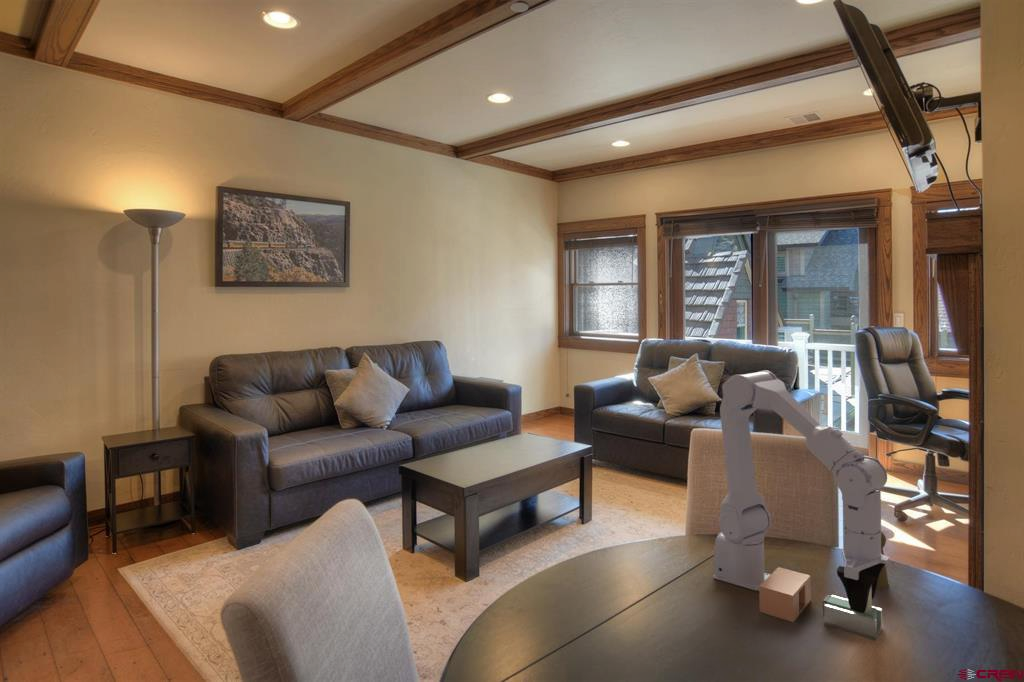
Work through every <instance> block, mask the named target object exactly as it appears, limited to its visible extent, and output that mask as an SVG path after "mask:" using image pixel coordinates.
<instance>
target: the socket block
mask: <svg viewBox="0 0 1024 682" xmlns="http://www.w3.org/2000/svg"><path fill="white" fill-rule="evenodd" d="M811 581H812V580H811V575H810V574H806V573H802V572H798V571H796V570H795V571H794V570H791V569H788V568H784V567H779V566H778V567H777V568H776V569H774V571H773V572H772V573H770V576H769V577H768V578H767V579H766V580H765V581H764V582H763V583H762V584H761V585H760V586H759V591H758V592H759V593H758V594H759V598H758V599H759V612H760V613H763V614H767V615H770V616H773V617H774V618H779V619H781V620H785V621H788V622H790V623H794V622H796V620H797V618H799V616H800V615H801V613H802V612H803V611H804V610H805V608H806V607H807V606H808V605H809V604H810V602H811V601H812V598H811V597H812V592H811V591H812V589H811V588H812V587H811V585H812V584H811V583H812V582H811Z"/></svg>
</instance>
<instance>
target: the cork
mask: <svg viewBox="0 0 1024 682" xmlns="http://www.w3.org/2000/svg"><path fill="white" fill-rule="evenodd" d="M886 543H887V538H886V535H885V534H884V532H883V531H881V553H882V555H884V556H885V554H884V547H885V546H886ZM886 565H887V564H885V565H884V566H883V568H882V570H881V573H880V575H879V579H878V583H877V588H876V590H885V589H887V588H889V579H888V572H887V567H886Z"/></svg>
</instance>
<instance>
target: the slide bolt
mask: <svg viewBox="0 0 1024 682" xmlns="http://www.w3.org/2000/svg"><path fill="white" fill-rule="evenodd" d="M872 603H873V599H872V585H871V588H870V591H869V596H868V602H867V607H866V610H865V612H864V613H861V612H857V611H854V610H851V608H850V605H849V602H848V600H844V599H841V598H837V597H833V596H832V595H831V594H827V595H826V596H825V597H824V598H823V600H822V617H823V618H824V605H825V604H829V605H832V606H836V607H839V608H843V609H846V610H850V611H853V612H857V613H860V614H863V615H867V616H870V617H874V618H877V609H876V608H873V607H872V606H873V604H872Z"/></svg>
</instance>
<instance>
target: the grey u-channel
mask: <svg viewBox="0 0 1024 682" xmlns="http://www.w3.org/2000/svg"><path fill="white" fill-rule="evenodd" d="M831 596H833V597H837V598H841V599H844V600H848V598H845V597H841V596H838V595H834V594H832V595H831ZM872 607H873V608H876V609H877V618H874V617H870V616H867V615H863V614H860V613H857V612H853V611H850V610H846V609H843V608H839V607H836V606H832V605H829V604H825V605H824V617H823V618H824V619H823V620H824V621H823V622H824V624H823V625H825V626H828V627H830V628H834V629H837V630H840V631H843V632H847V633H850V634H853V635H857V636H859V637H863V638H866V639H869V640H873V641H877V639H878V637H879V635H880V633H881V631H882V630H883V608H881V607H877V606H874V605H872Z"/></svg>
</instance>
